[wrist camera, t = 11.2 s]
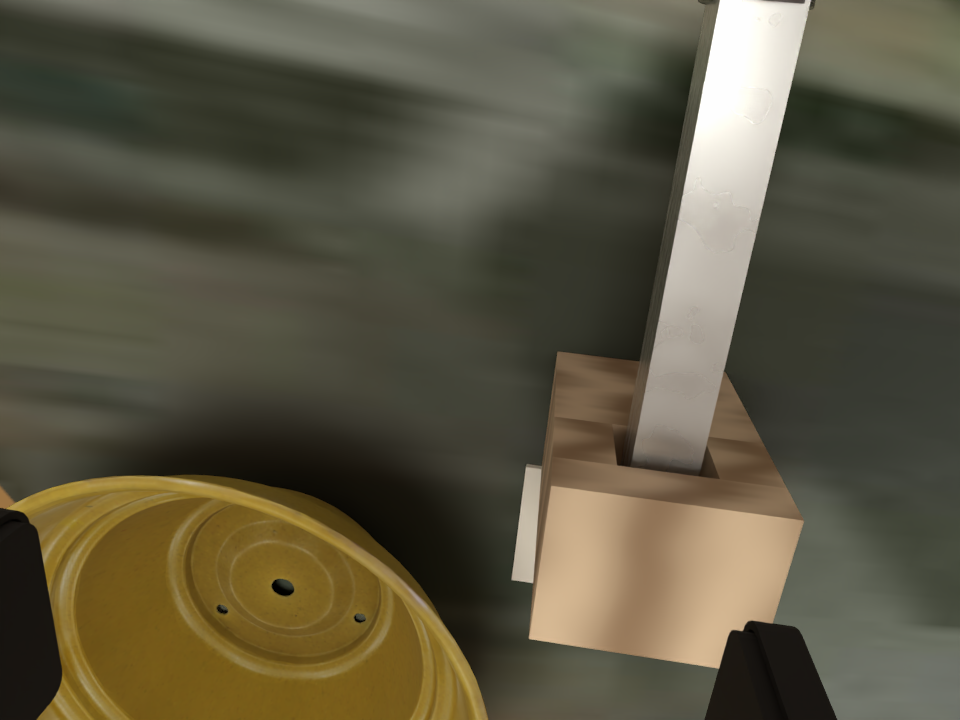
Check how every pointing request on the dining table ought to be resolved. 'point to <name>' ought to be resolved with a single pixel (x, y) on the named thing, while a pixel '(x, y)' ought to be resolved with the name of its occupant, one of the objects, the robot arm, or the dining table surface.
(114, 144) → the dining table surface
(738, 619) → the block
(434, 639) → the planter bowl
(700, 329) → the shaft
